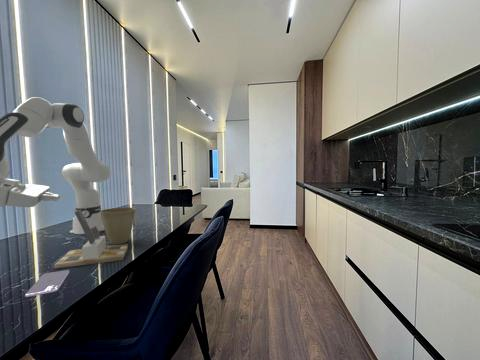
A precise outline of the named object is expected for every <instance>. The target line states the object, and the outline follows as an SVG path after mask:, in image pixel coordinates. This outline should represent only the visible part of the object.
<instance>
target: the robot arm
mask: <svg viewBox="0 0 480 360" xmlns="http://www.w3.org/2000/svg"><path fill="white" fill-rule="evenodd" d="M84 121H85V114H84V111H83V110H82V109H81V108H80V106H78V105H77V104H73V103H50V101H48V100H46V99H44V98H42V97H39V96H37V97H36V96H33V97H30V98H28V99H26V100H25V101H23V102H22V103H20V104H19V105H18V106H17V107H16V108H15V109H14V110H13V111H12V112H11V111H10V112H8V113H6V114H4V115H3V116H1V117H0V207H1V208H4V207H14V208H15V207H16V208H17V207H18V208H33V207H36V205H38V204H39V203H40V202H41V201H43V202H44V201H45V202H46V201H50V202H51V201H54V202H57V201H58V200H59V199H60V196H61V195H60V194H57V193H52V192H50V191H51V187H50V186H48V185H42V184H35V183H26V184H22V181H21V180H19V179H13V178H7V177H8V176H9V174H10V171H11V170H10V169H11V168H10V164H9V161H8V158H7V155H6V144H7V143H8V142H9V141H10V140H12V138H14V137H15V136H16V135H18V136H21V137H25V138H34V137H38V135H40V134H42V132H43V131H44V130H45V129H46V128H53V129H55V128H56V129H57V128H58V129H59V128H61V129H62V132H63V138H64V141H65V145H66V148H67V152H68V154H69V156H71V157H72V158H74V159H76V160H77V161H78V162H74V163H73V162H72V163H70V164H66V165H65V166H63V168H62V170H61V176H62V178H63V179H64V180H65V181H66V182H67V183H69V184H70V186H71V187H72V190H73V191H74V195H75V204H76V207H75V211H74V213H75V212H76V211H78V210H81V211H82V213H83V215H84V217H85V219H86V221H87V224H88V226H89V228H90V230H91V228H92V227H94V226H96V227H97V230H98V232H99V233H100V232H102V231H105V229H104V226H103V223H102V218H101V213H100V211H101V210H102V208H101V207H102V206H101V205H100V192H99V191H98V190H97V189H95V188H94V187H93V186H92V185H91V183H102V182H105V181H108V180H109V179H110V176H111V174H112V173H111V168H110V166H109V165H107V164H106V163H104V162H103V161H101V159H99V157H98V155H96V153H95V151H94V149H93V145H92V142H91V137H90V135H89V132H88V129H87V127H86V124H85V123H84ZM91 232H92V231H91ZM69 233H70V234H75V235H86V234H85V232H84V230H83V228H82V226H81V224H80V222H79V220H78V218H77V216H76V215H75V216H73V217H72V229H70V230H69Z"/></svg>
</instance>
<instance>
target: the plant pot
mask: <svg viewBox="0 0 480 360" xmlns="http://www.w3.org/2000/svg"><path fill="white" fill-rule="evenodd" d="M100 213H101V218H102V223H103V226H104V229H105V230H104V233H105V236H106V238H107V239H108V241H109V243H110V245H112V246H115V245H124V244H127V242H128V241H129V238H130V236H131V233H132V229H133V225H134V222H135V221H134V220H135V215H136V208H135V207H123V206H122V207H112V208H106V209H101V211H100Z"/></svg>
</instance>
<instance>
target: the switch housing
mask: <svg viewBox="0 0 480 360" xmlns="http://www.w3.org/2000/svg"><path fill="white" fill-rule="evenodd" d="M106 246H107V235H100V236H99V237H98V238H97V239H96V240H95V241H94V242H93V244H89V241H88V240H87V242H85V244H84V245H83V246H82V247H81V249H82V256H83V260H88V259H97V258H99V256H100V255H101V254H102V252H103V251H104V249H105V248H106Z"/></svg>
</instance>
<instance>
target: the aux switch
mask: <svg viewBox="0 0 480 360" xmlns="http://www.w3.org/2000/svg"><path fill="white" fill-rule="evenodd" d="M91 231H92V234H93V236H94V238H95V239H97V238H98V237H99V236H101V233H100V232H98V230H97V227H96V226H94V227H92V228H91Z"/></svg>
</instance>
